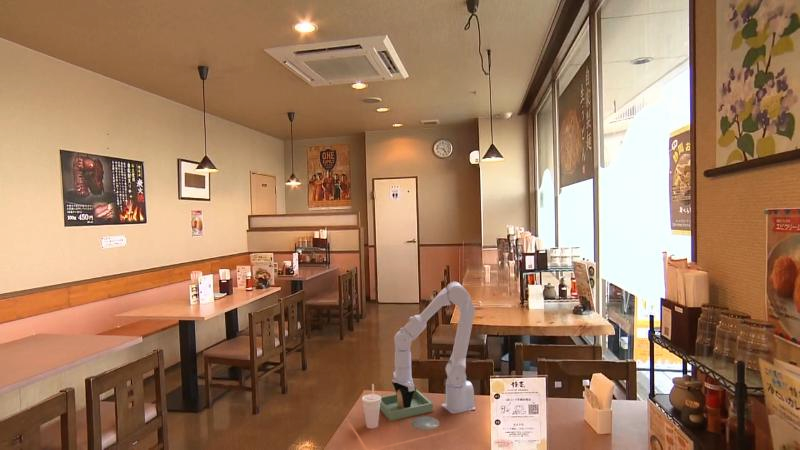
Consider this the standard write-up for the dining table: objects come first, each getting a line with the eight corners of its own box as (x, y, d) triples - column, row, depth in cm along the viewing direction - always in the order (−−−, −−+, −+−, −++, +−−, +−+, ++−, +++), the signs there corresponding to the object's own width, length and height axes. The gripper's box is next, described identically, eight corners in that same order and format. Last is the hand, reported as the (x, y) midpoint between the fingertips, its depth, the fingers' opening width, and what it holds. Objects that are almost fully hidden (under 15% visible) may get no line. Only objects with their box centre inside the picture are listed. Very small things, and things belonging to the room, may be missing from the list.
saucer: (431, 416, 147) (431, 414, 147) (444, 428, 139) (444, 426, 139) (407, 421, 143) (407, 419, 143) (418, 434, 135) (418, 432, 135)
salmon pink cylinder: (407, 404, 155) (407, 387, 155) (413, 409, 151) (412, 392, 151) (395, 406, 154) (394, 389, 153) (400, 412, 149) (400, 395, 149)
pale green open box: (417, 398, 161) (417, 389, 161) (432, 412, 149) (432, 403, 149) (376, 406, 155) (376, 397, 155) (389, 422, 143) (389, 412, 143)
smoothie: (379, 432, 137) (378, 388, 136) (360, 431, 138) (359, 387, 138) (383, 423, 143) (383, 381, 143) (365, 422, 144) (364, 380, 144)
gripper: (385, 361, 157) (386, 398, 157) (400, 374, 144) (401, 415, 144) (403, 358, 160) (404, 394, 160) (419, 371, 146) (420, 410, 147)
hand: (404, 404), depth 152 cm, fingers closed on salmon pink cylinder, 5 cm apart
